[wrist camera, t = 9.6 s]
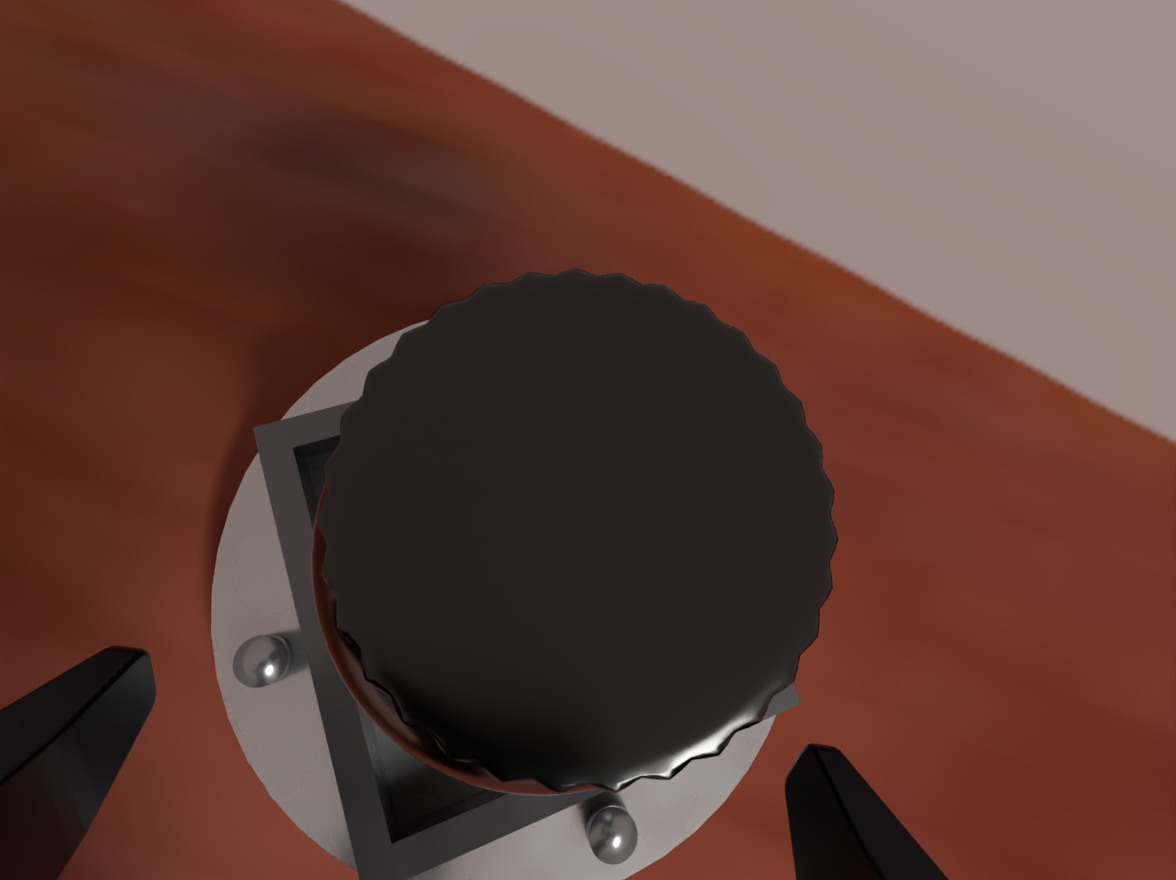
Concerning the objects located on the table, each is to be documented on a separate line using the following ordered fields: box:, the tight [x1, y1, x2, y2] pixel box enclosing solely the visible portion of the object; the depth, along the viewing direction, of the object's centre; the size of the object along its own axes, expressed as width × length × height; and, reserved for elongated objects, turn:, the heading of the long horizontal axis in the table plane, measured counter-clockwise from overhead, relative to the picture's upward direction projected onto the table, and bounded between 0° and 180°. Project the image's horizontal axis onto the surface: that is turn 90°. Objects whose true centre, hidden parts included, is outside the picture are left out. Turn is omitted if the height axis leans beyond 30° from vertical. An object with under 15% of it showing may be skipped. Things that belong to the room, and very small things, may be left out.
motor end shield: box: [211, 320, 801, 880], centre depth 17 cm, size 16×16×3 cm
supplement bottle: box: [311, 268, 838, 796], centre depth 11 cm, size 7×7×12 cm
